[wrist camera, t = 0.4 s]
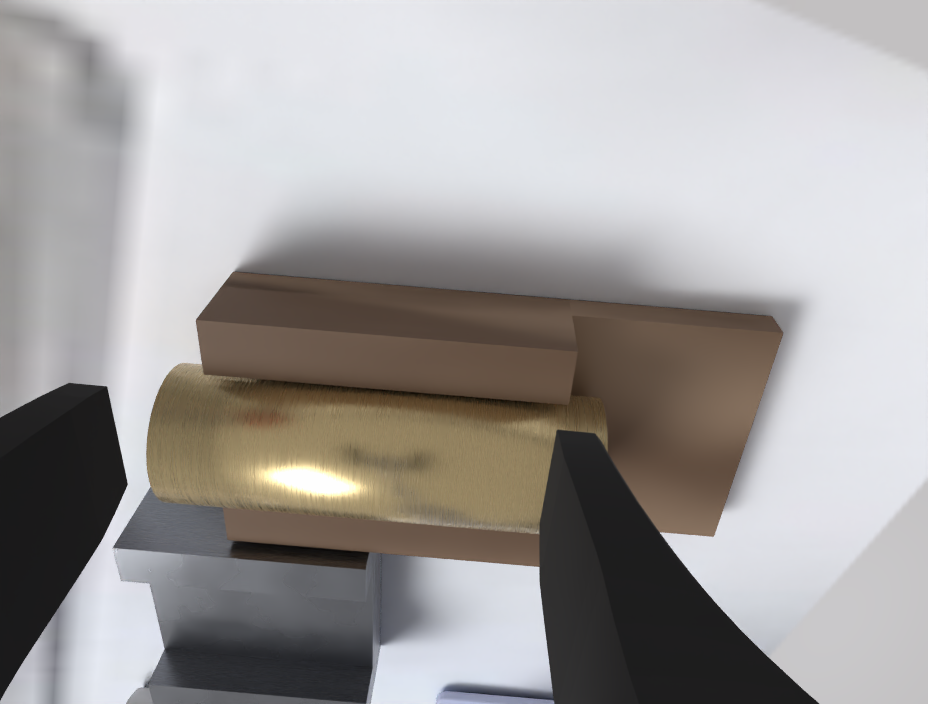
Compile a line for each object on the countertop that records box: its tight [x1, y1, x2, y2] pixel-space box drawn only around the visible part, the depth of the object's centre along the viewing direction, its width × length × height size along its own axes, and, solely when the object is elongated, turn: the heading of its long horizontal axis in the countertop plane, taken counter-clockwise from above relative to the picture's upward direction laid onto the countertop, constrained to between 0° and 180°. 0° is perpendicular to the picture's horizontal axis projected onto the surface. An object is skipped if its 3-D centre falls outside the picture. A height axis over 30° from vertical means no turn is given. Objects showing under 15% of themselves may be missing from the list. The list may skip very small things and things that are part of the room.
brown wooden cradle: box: [196, 272, 783, 567], centre depth 22 cm, size 8×16×3 cm, turn 86°
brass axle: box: [146, 363, 608, 534], centre depth 21 cm, size 12×4×4 cm, turn 86°
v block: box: [113, 487, 381, 704], centre depth 26 cm, size 8×8×4 cm
